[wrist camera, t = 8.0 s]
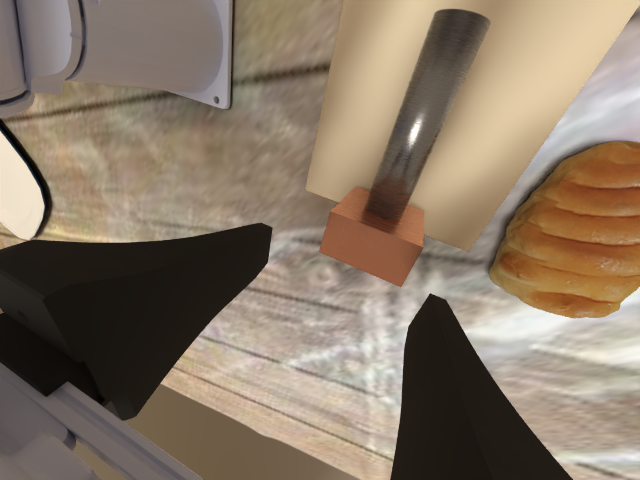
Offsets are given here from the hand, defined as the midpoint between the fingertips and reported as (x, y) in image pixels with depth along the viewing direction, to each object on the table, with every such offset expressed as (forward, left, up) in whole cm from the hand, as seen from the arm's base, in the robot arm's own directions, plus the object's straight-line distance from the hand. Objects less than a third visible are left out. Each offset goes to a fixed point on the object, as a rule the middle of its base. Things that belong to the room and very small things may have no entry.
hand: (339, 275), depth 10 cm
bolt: (+1, +5, -7) cm, 8 cm away
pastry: (+11, +2, -10) cm, 15 cm away
